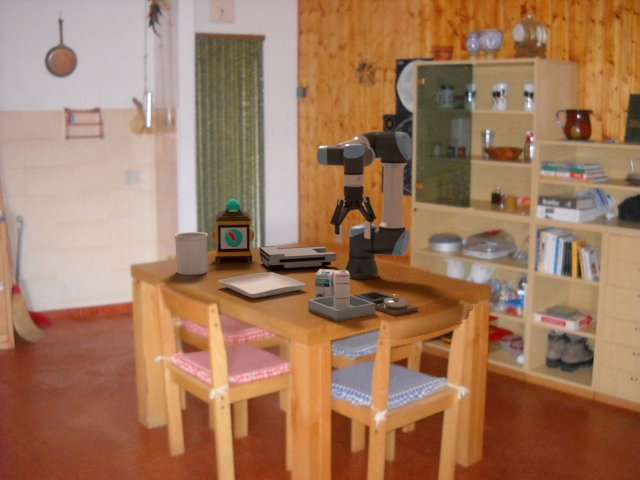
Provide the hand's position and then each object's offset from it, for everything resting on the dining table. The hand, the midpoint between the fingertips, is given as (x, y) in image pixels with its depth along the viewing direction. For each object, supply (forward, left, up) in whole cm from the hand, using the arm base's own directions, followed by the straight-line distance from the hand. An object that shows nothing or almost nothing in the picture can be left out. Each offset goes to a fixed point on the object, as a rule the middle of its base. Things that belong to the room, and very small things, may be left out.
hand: (353, 240), depth 296 cm
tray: (+5, -9, -26) cm, 28 cm away
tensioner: (+8, +10, -26) cm, 28 cm away
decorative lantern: (-99, +3, -26) cm, 102 cm away
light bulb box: (-15, -2, -26) cm, 30 cm away
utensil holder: (-86, -26, -26) cm, 93 cm away
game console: (-70, +21, -26) cm, 78 cm away
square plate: (-41, -16, -26) cm, 51 cm away
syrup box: (+5, -9, -25) cm, 27 cm away
